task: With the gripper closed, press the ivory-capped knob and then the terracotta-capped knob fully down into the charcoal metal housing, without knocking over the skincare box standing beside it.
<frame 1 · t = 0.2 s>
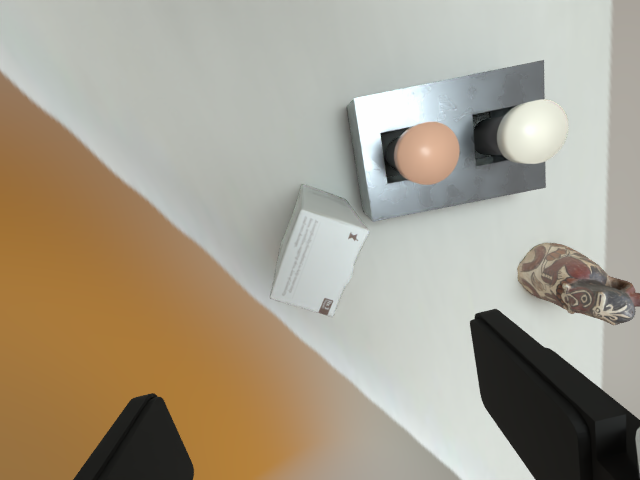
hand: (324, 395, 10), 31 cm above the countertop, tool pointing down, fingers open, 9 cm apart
knob 2: (510, 134, 30), point 8 cm above the countertop, slide at 0.0 cm
housing: (431, 146, 38), on the countertop
skincare box: (313, 223, 40), on the countertop
knob 1: (414, 153, 31), point 8 cm above the countertop, slide at 0.0 cm
figurine: (543, 268, 43), on the countertop
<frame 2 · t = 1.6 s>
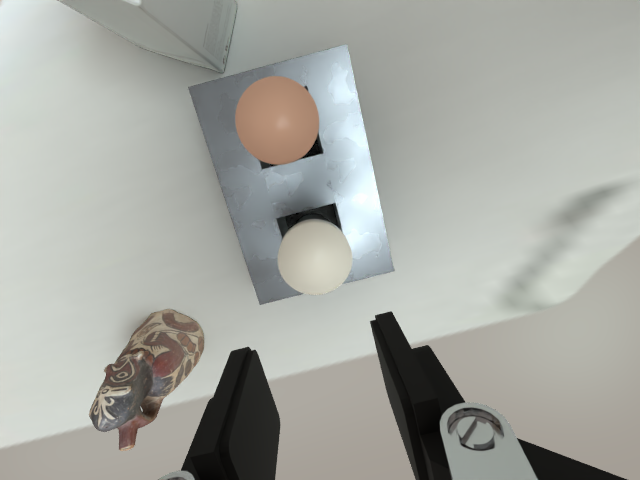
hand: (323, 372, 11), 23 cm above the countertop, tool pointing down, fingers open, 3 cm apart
knob 2: (314, 245, 26), point 8 cm above the countertop, slide at 0.0 cm
housing: (300, 180, 32), on the countertop
skincare box: (184, 27, 29), on the countertop
knob 1: (282, 126, 23), point 8 cm above the countertop, slide at 0.0 cm
figurine: (173, 338, 36), on the countertop
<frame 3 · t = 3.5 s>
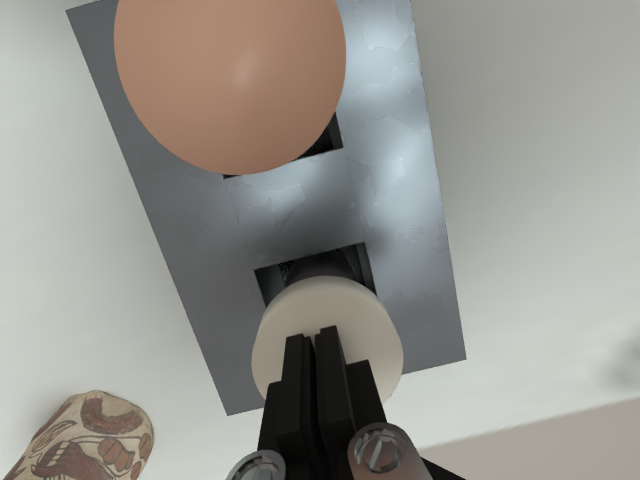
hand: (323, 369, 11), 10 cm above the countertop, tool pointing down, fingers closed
knob 2: (323, 310, 14), point 6 cm above the countertop, slide at 1.4 cm, touching gripper
housing: (300, 193, 20), on the countertop
knob 1: (258, 90, 11), point 8 cm above the countertop, slide at 0.0 cm
figurine: (106, 430, 24), on the countertop
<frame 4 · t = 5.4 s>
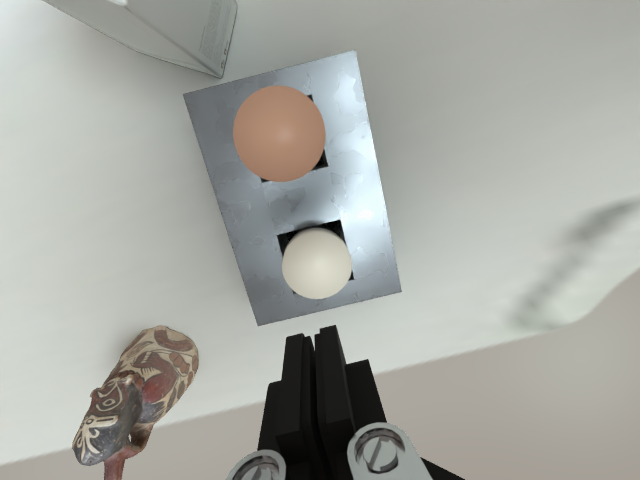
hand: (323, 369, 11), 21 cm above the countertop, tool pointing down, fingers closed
knob 2: (315, 251, 27), point 4 cm above the countertop, slide at 3.5 cm
housing: (302, 192, 30), on the countertop
skincare box: (180, 29, 27), on the countertop
knob 1: (284, 138, 22), point 8 cm above the countertop, slide at 0.0 cm
figurine: (165, 356, 34), on the countertop
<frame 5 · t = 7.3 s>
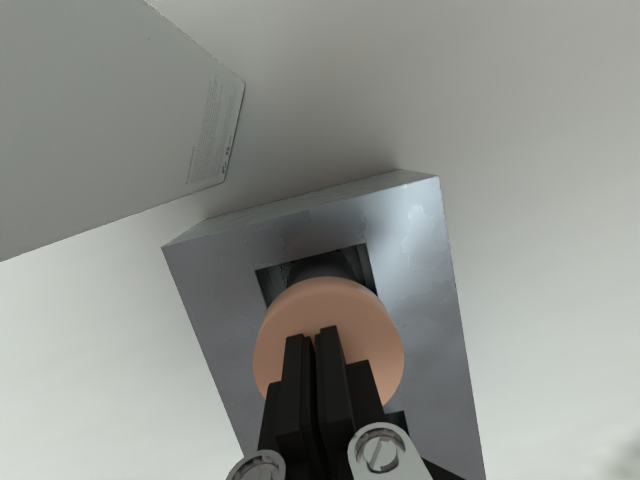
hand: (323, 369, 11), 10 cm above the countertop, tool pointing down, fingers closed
knob 2: (360, 432, 19), point 4 cm above the countertop, slide at 3.5 cm
housing: (336, 326, 22), on the countertop
skincare box: (163, 115, 18), on the countertop
knob 1: (324, 311, 14), point 6 cm above the countertop, slide at 1.4 cm, touching gripper
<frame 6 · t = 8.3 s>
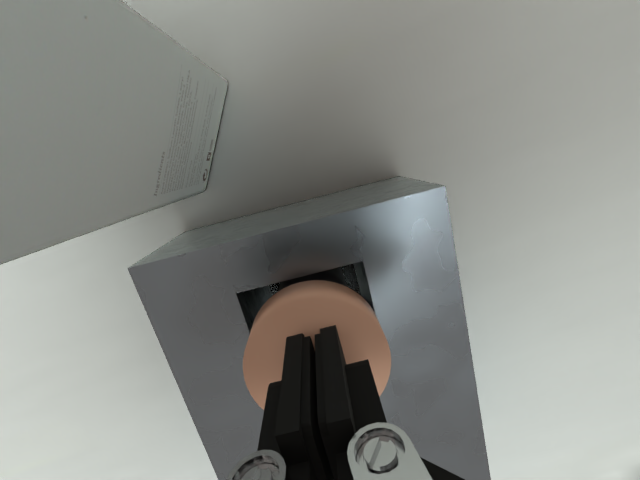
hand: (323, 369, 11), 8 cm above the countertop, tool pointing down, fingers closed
housing: (331, 346, 20), on the countertop
skincare box: (137, 117, 17), on the countertop
knob 1: (314, 314, 15), point 4 cm above the countertop, slide at 3.5 cm
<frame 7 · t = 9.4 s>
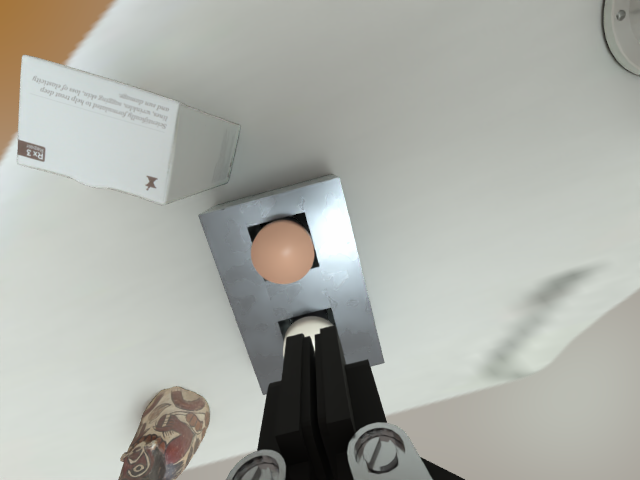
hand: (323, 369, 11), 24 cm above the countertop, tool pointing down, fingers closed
knob 2: (310, 329, 32), point 4 cm above the countertop, slide at 3.5 cm
housing: (298, 271, 35), on the countertop
skincare box: (192, 144, 32), on the countertop
knob 1: (285, 242, 30), point 4 cm above the countertop, slide at 3.5 cm
figurine: (180, 411, 39), on the countertop
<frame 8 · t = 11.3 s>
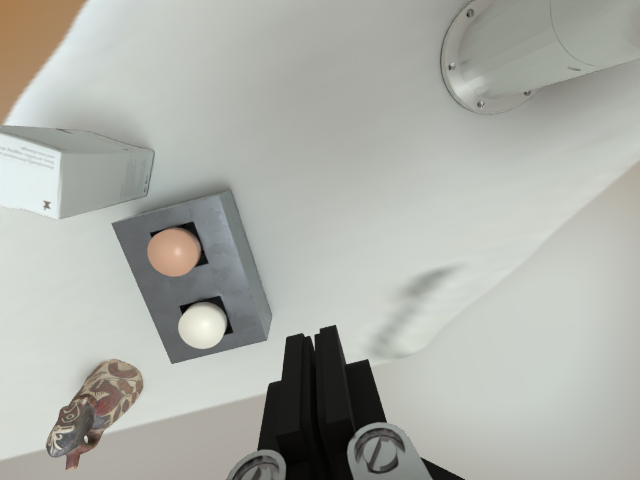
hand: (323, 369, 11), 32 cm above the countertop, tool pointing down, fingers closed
knob 2: (210, 312, 40), point 4 cm above the countertop, slide at 3.5 cm
housing: (208, 267, 43), on the countertop
skincare box: (117, 165, 40), on the countertop
knob 1: (185, 244, 38), point 4 cm above the countertop, slide at 3.5 cm
figurine: (119, 380, 47), on the countertop
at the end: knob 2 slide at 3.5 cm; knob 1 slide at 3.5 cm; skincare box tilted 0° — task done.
